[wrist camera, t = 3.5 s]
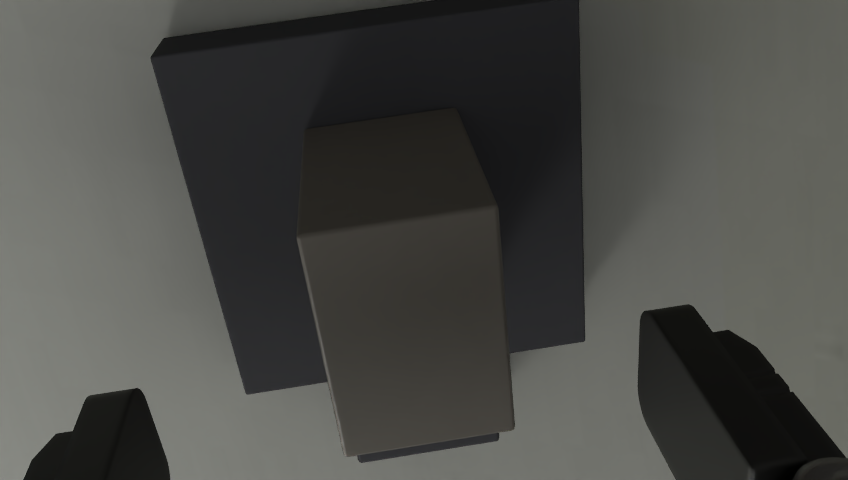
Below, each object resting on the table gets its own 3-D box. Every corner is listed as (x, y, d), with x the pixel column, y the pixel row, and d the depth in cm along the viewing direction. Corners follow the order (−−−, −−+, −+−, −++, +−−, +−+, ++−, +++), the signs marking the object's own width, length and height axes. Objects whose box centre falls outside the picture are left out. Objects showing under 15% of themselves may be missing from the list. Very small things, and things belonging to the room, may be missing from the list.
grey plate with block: (561, -18, 18) (667, 64, 13) (573, 393, 24) (649, 577, 18) (162, 37, 18) (85, 148, 12) (272, 441, 24) (255, 643, 18)
